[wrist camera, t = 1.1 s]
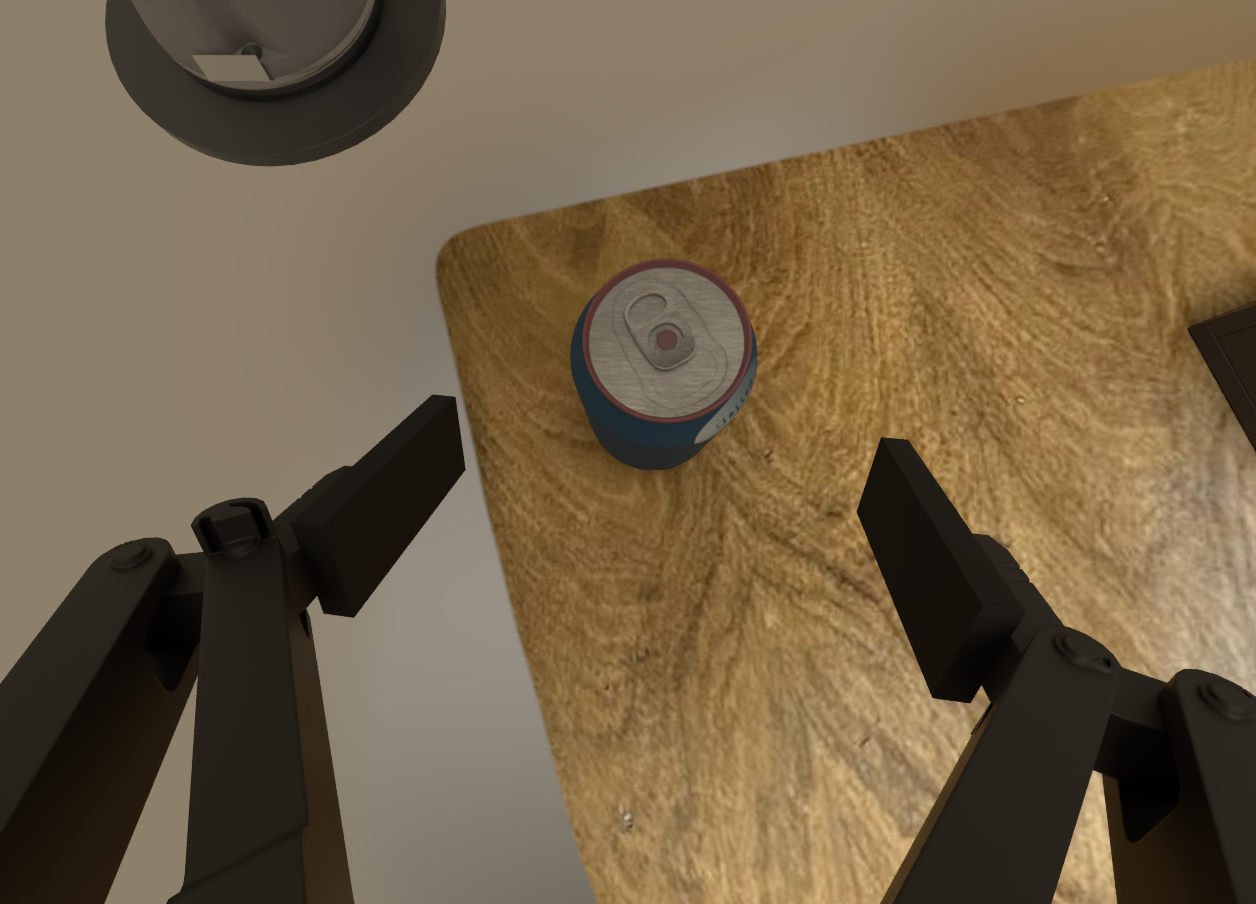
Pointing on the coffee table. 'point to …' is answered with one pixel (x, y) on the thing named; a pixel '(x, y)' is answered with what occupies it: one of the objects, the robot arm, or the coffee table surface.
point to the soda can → (662, 361)
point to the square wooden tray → (1233, 359)
